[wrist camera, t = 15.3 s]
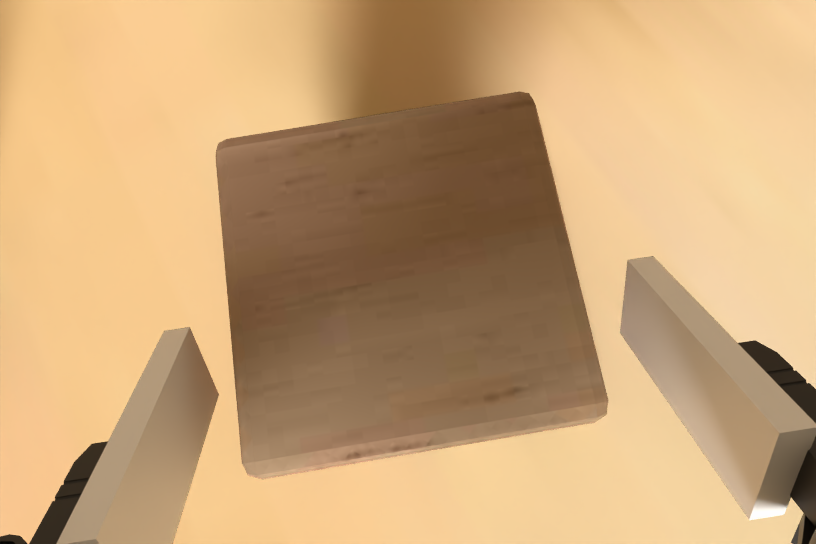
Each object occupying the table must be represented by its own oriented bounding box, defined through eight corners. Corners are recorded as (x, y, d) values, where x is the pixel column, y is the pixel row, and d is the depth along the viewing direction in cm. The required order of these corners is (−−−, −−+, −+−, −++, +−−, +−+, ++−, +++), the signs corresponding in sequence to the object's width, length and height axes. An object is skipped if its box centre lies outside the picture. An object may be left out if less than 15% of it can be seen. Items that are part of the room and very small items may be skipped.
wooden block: (325, 279, 35) (208, 135, 16) (473, 255, 36) (535, 82, 16) (345, 434, 33) (237, 485, 14) (503, 407, 33) (619, 419, 14)
